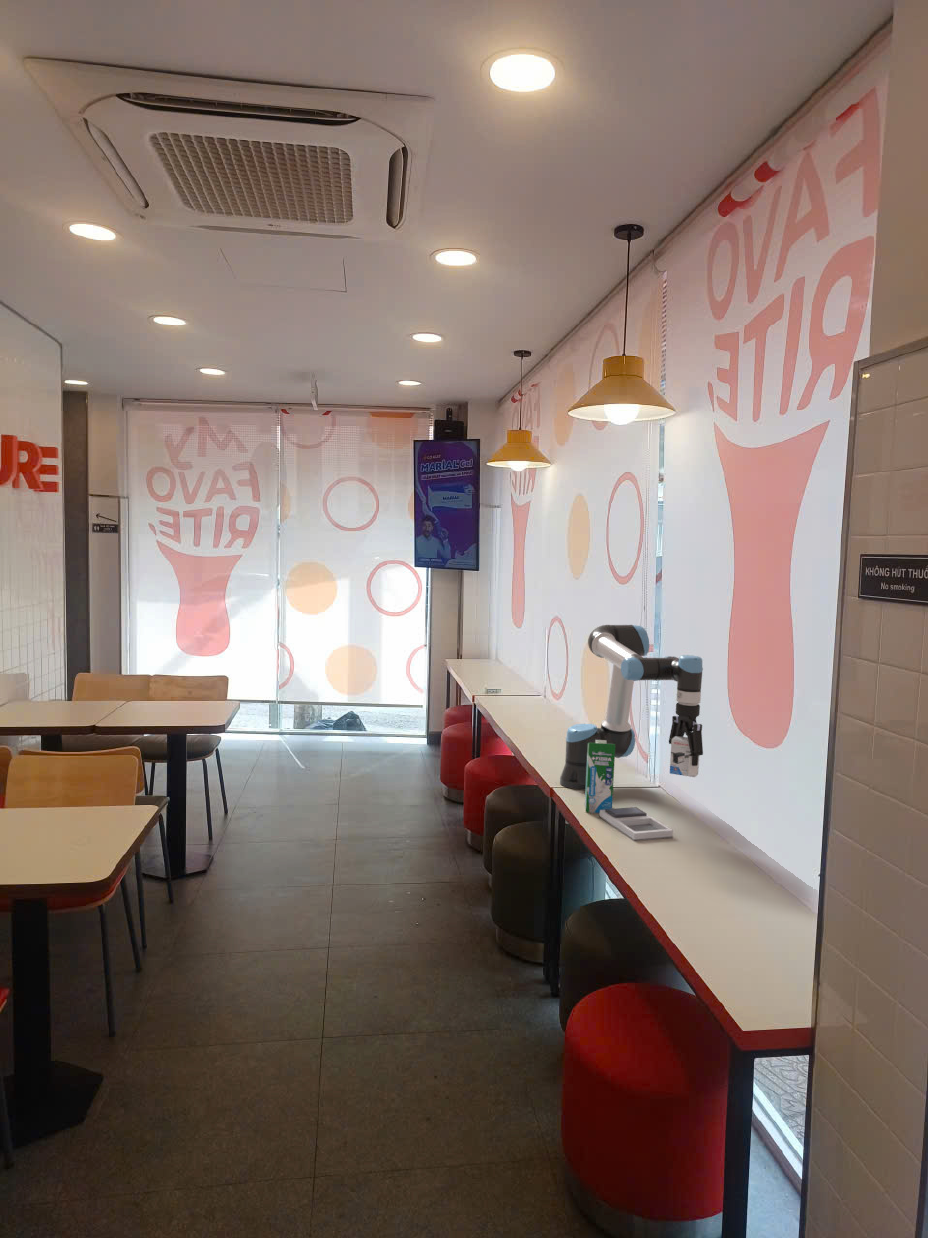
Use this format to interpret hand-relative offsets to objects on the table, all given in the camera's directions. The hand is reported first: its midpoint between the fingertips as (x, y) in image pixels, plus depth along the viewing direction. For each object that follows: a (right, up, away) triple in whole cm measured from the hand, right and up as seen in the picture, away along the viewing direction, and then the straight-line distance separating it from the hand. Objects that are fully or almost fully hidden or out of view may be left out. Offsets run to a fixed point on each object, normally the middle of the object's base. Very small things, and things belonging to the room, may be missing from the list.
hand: (683, 770), depth 271 cm
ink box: (0, -1, 0) cm, 1 cm away
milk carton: (-24, -18, +23) cm, 38 cm away
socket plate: (-15, -20, +5) cm, 25 cm away
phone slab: (-17, -17, +11) cm, 26 cm away
